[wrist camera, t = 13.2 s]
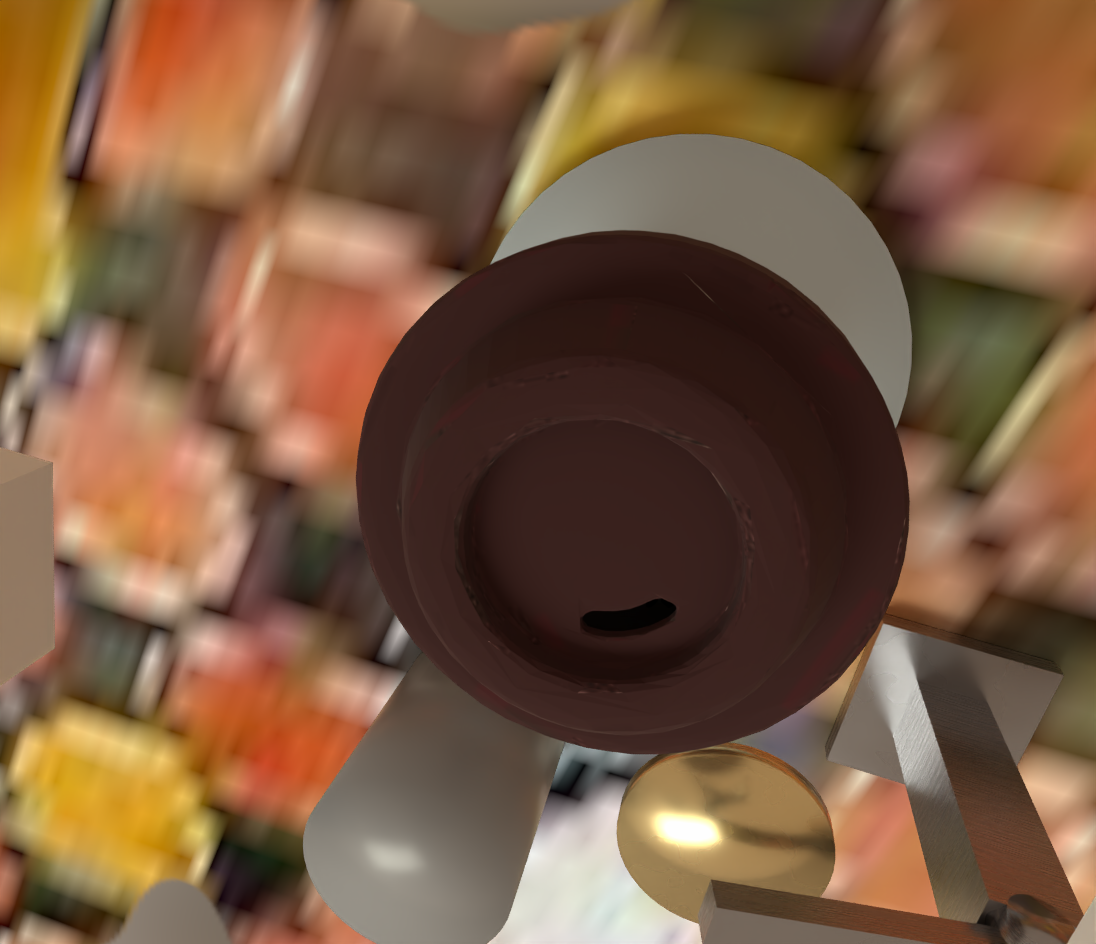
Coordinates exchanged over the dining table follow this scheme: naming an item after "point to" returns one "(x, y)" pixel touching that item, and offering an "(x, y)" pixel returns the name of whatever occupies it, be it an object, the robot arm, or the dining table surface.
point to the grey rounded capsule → (431, 817)
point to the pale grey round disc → (744, 230)
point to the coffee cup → (633, 492)
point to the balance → (884, 750)
